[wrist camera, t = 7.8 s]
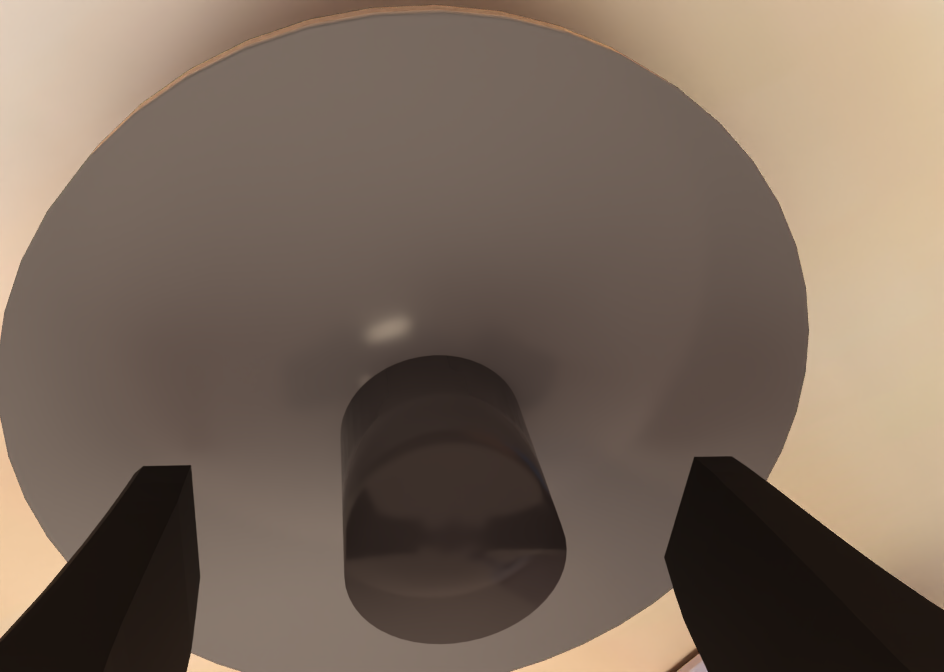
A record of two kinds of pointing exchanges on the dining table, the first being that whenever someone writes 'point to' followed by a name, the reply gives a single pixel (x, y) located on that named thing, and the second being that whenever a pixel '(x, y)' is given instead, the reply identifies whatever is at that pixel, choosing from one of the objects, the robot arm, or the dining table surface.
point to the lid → (407, 336)
